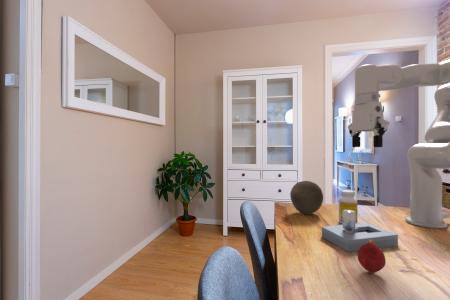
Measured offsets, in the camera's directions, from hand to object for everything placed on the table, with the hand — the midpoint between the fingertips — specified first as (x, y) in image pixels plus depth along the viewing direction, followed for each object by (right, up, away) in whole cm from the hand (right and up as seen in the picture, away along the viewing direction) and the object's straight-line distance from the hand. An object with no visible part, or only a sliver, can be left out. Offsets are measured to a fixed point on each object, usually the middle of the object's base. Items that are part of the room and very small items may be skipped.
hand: (366, 147), depth 86 cm
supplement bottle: (-3, -30, +8) cm, 32 cm away
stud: (-12, -31, -11) cm, 35 cm away
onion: (-16, -31, -29) cm, 46 cm away
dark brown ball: (-15, -30, +20) cm, 39 cm away
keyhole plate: (-9, -31, -10) cm, 33 cm away
